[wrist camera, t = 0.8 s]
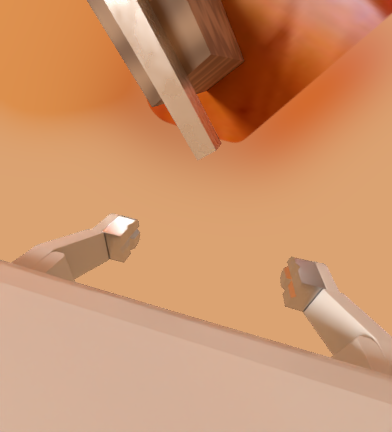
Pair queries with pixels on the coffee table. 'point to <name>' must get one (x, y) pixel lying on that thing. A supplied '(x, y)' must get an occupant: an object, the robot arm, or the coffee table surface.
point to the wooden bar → (165, 72)
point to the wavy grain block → (182, 42)
